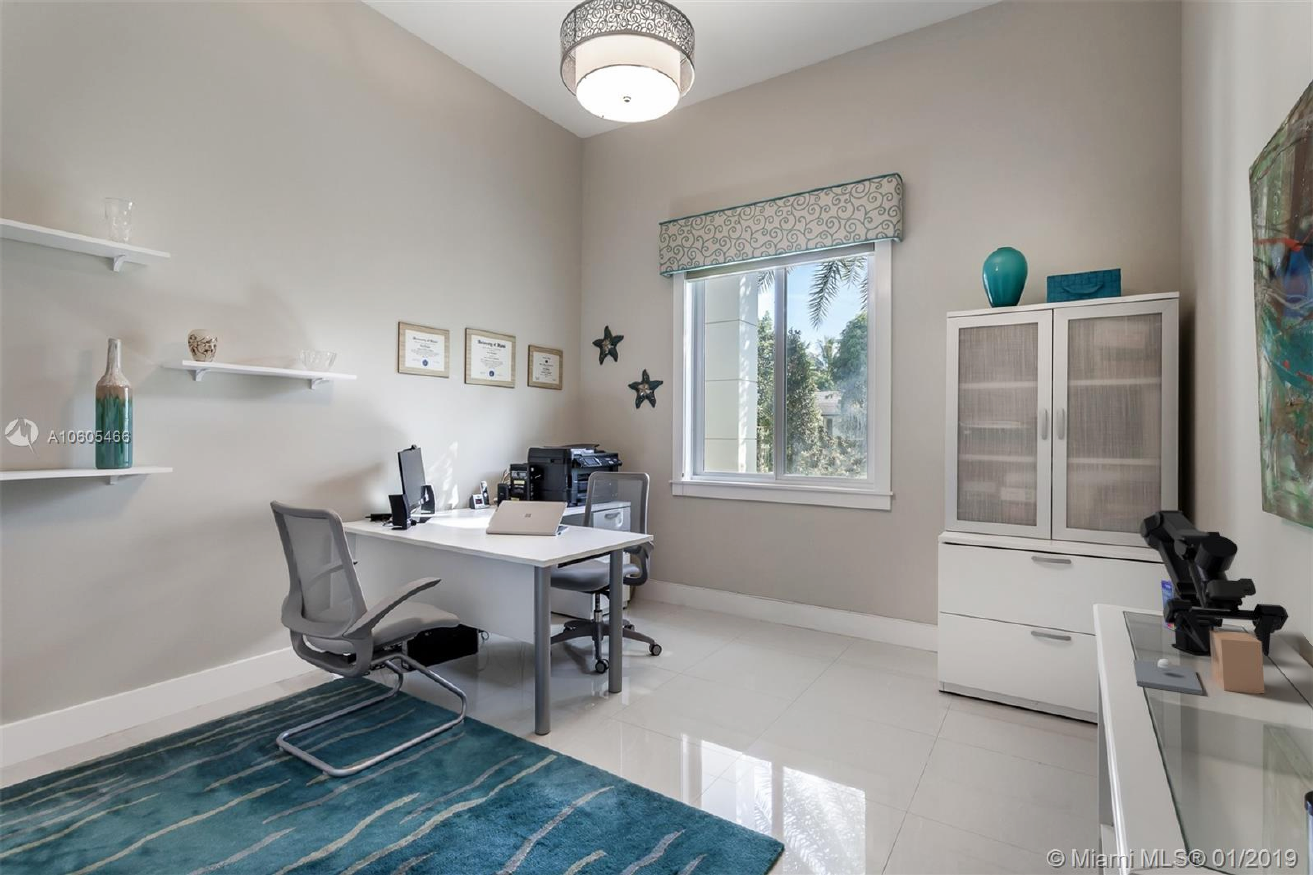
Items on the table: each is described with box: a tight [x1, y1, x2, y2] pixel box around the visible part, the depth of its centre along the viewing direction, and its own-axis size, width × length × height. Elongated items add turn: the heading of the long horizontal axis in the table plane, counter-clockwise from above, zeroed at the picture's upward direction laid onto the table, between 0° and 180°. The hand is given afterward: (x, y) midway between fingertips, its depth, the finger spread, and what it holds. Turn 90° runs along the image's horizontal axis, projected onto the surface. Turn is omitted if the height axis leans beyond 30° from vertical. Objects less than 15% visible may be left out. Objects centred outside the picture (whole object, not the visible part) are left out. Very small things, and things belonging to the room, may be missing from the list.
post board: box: [1133, 658, 1203, 696], centre depth 128 cm, size 14×10×4 cm
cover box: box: [1210, 630, 1265, 695], centre depth 122 cm, size 6×6×10 cm
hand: (1236, 652), depth 122 cm, fingers open, 9 cm apart
